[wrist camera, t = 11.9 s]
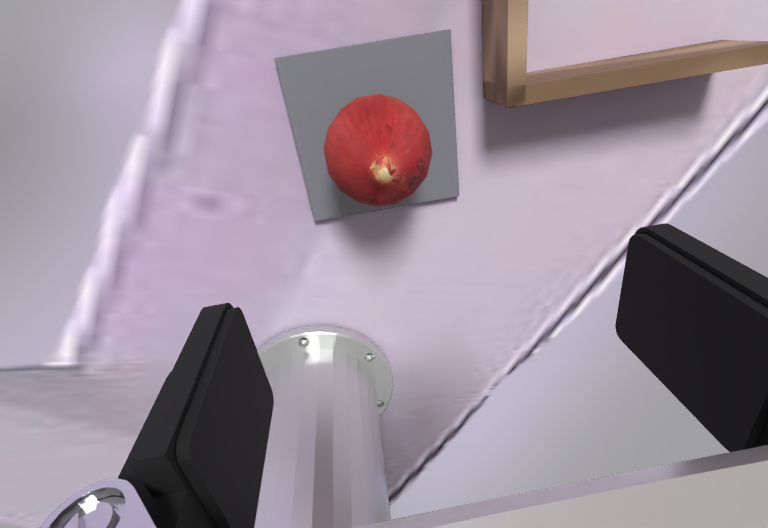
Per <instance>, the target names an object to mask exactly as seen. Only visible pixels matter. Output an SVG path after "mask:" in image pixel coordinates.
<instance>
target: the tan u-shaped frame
mask: <svg viewBox="0 0 768 528" xmlns="http://www.w3.org/2000/svg"><path fill="white" fill-rule="evenodd" d="M527 27H528V0H482V29H483V81H484V98H486V99H488V100H491V101H493V102H495V103H497V104H500V105H502V106H504V107H506V108H509V107H515V106H521V105H527V104H533V103H539V102H545V101H551V100H556V99H562V98H568V97H574V96H580V95H586V94H592V93H598V92H603V91H609V90H615V89H621V88H627V87H633V86H639V85H645V84H650V83H656V82H662V81H668V80H674V79H680V78H686V77H692V76H697V75H703V74H709V73H715V72H721V71H727V70H733V69H738V68H744V67H750V66H756V65H762V64H768V41H732V40H719V41H713V42H707V43H701V44H695V45H689V46H683V47H677V48H671V49H666V50H660V51H654V52H648V53H642V54H636V55H630V56H624V57H618V58H612V59H606V60H600V61H594V62H588V63H582V64H577V65H571V66H565V67H559V68H553V69H547V70H541V71H535V72H529V73H526V62H527Z"/></svg>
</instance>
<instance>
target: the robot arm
mask: <svg viewBox="0 0 768 528" xmlns="http://www.w3.org/2000/svg"><path fill="white" fill-rule="evenodd" d="M616 332H617V335H618V336H619V338H620V339H621V340H622V342H623V343H624V344H625V345H627V347H628V348H629V349H630V350H631V351H632V352H633V353H634V354H635V355H636V356H637V357H638V358H639V359H640V360H641V361H642V362H643V363H644V364H645V365H646V367H648V368H649V370H650V371H651V372H652V373H653V374H654V375H655V376H656V377H657V378H658V379H659V380H660V381H661V382H662V383H663V384H664V385H665V386H666V387H667V388H668V389H669V390H670V391H671V392H672V394H673V395H675V397H676V398H677V399H678V400H679V401H680V402H681V403H682V404H683V405H684V406H685V407H686V408H687V409H688V410H689V411H690V412H691V413H692V414H693V415H694V416H695V417H696V418H697V419H698V420H699V422H701V424H702V425H703V426H704V427H705V428H706V429H707V430H708V431H709V432H710V433H711V434H712V435H713V436H714V437H715V438H716V439H717V440H718V441H719V442H720V443H721V444H722V445H723V446H724V447H725V448H726V449H727V450H728V451H730V452H729V453H724V454H720V455H714V456H709V457H703V458H698V459H693V460H688V461H683V462H678V463H672V464H667V465H662V466H657V467H652V468H647V469H642V470H637V471H632V472H627V473H622V474H617V475H611V476H606V477H602V478H597V479H591V480H587V481H581V482H576V483H571V484H566V485H561V486H556V487H551V488H546V489H541V490H536V491H532V492H526V493H521V494H516V495H511V496H507V497H501V498H496V499H491V500H486V501H481V502H476V503H472V504H467V505H462V506H457V507H452V508H447V509H442V510H437V511H432V512H428V513H423V514H418V515H414V516H408V517H403V518H398V519H393V520H391V516H390V507H389V499H388V490H387V482H386V473H385V465H384V457H383V448H382V440H381V431H380V423H379V416H380V415H381V413H382V412H383V411H384V410H385V408H386V407H387V405H388V403H389V401H390V399H391V395H392V390H393V377H392V372H391V368H390V364H389V362H388V360H387V358H386V356H385V355H384V353H383V352H382V351H381V350H380V348H379V347H378V346H377V345H375V344H374V343H373V342H372V341H371V340H369V339H368V338H366V337H364V336H362V335H360V334H358V333H356V332H353V331H350V330H347V329H344V328H339V327H333V326H308V327H300V328H296V329H293V330H289V331H286V332H283V333H281V334H279V335H277V336H275V337H273V338H271V339H270V340H268V341H267V342H266V343H264V344H263V345H262V346H260V347H259V349H258V350H257V349H256V347H255V344H254V341H253V339H252V336H251V333H250V331H249V328H248V326H247V323H246V320H245V318H244V315H243V313H242V310H241V309H240V308H239V307H237V308H233V306H232V305H231V304H230V303H225V304H219V305H214V306H208V307H204V308H203V309H202V310H201V312H200V314H199V316H198V318H197V320H196V322H195V324H194V326H193V328H192V331H191V333H190V335H189V337H188V339H187V341H186V343H185V345H184V347H183V349H182V351H181V353H180V355H179V358H178V360H177V362H176V364H175V366H174V368H173V370H172V372H170V374H169V375H168V377H167V378H166V380H165V382H164V384H163V387H162V389H161V391H160V393H159V395H158V397H157V399H156V401H155V403H154V405H153V407H152V409H151V411H150V413H149V415H148V417H147V419H146V421H145V423H144V425H143V428H142V430H141V432H140V434H139V436H138V438H137V440H136V442H135V444H134V446H133V448H132V450H131V452H130V454H129V456H128V458H127V460H126V462H125V464H124V467H123V469H122V471H121V473H120V475H119V477H118V478H114V479H106V480H102V481H99V482H96V483H94V484H91V485H89V486H87V487H85V488H83V489H82V490H80V491H78V492H76V493H75V494H73V495H72V496H71V497H69V498H68V499H67V500H66V501H64V502H63V503H62V504H61V505H59V506H58V507H57V508H56V509H55V510H54V511H53V512H52V514H51V515H50V516H49V517H48V518H47V519H46V520H45V521H44V523H43V524H42V526H41V527H40V528H768V278H767V277H765V276H763V275H762V274H760V273H758V272H756V271H754V270H752V269H751V268H749V267H747V266H745V265H743V264H741V263H740V262H738V261H736V260H734V259H732V258H730V257H728V256H726V255H725V254H723V253H721V252H719V251H717V250H716V249H714V248H712V247H710V246H708V245H707V244H705V243H703V242H701V241H699V240H697V239H696V238H694V237H692V236H690V235H688V234H686V233H684V232H682V231H681V230H679V229H677V228H675V227H673V226H672V225H669V224H659V225H654V226H648V227H643V228H640V229H638V230H637V232H636V233H635V235H633V236H632V237H631V238H630V240H629V245H628V251H627V257H626V263H625V269H624V276H623V282H622V288H621V294H620V300H619V307H618V313H617V319H616Z"/></svg>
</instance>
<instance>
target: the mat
mask: <svg viewBox="0 0 768 528" xmlns="http://www.w3.org/2000/svg"><path fill="white" fill-rule="evenodd" d="M275 62H276V66H277V70H278V74H279V78H280V82H281V86H282V91H283V95H284V99H285V103H286V107H287V111H288V115H289V119H290V123H291V127H292V131H293V135H294V139H295V143H296V147H297V151H298V155H299V159H300V163H301V167H302V171H303V175H304V180H305V184H306V188H307V192H308V196H309V200H310V204H311V208H312V212H313V216H314V220H315V221H319V220H324V219H330V218H336V217H342V216H347V215H353V214H359V213H364V212H370V211H376V210H382V209H387V208H393V207H399V206H404V205H410V204H416V203H422V202H427V201H433V200H439V199H445V198H450V197H456V196H459V182H458V163H457V144H456V125H455V106H454V88H453V69H452V50H451V31H450V30H443V31H437V32H431V33H425V34H419V35H413V36H407V37H401V38H395V39H389V40H383V41H377V42H371V43H365V44H359V45H352V46H346V47H340V48H334V49H328V50H322V51H316V52H310V53H304V54H298V55H292V56H286V57H280V58H275ZM375 94H382V95H386V96H390V97H394V98H398V99H400V100H402V101H403V102H404V103H406V104H407V105H408V106H410V107H411V108H413V109H414V110H415V111H416V112H417V113H418V114H419V116H420V118H421V119H422V121H423V123H424V124H425V126H426V128H427V129H428V131H429V135H430V141H431V147H432V153H433V154H432V158H431V162H430V166H429V170H428V174H427V177H426V178H425V179H424V181H423V182H422V183H421V184H420V186H419V187H418V188H417V189H416V191H415V192H414V193H413V194H412V195H411V196H409V197H407V198H406V199H404V200H402V201H400V202H399V203H397V204H395V205H388V206H379V207H375V206H370V205H366V204H362V203H358V202H356V201H355V200H353V199H352V198H350V197H349V196H347V195H346V194H344V193H343V192H341V191H340V189H339V188H338V187H337V185H336V184H335V182H334V181H333V180H332V178H331V177H330V175H329V174H328V170H327V165H326V160H325V155H324V150H323V149H324V144H325V139H326V135H327V130H328V128H329V126H330V125H331V123H332V122H333V120H334V119H335V117H336V115H337V114H338V112H339V111H340V109H341V108H343V107H344V106H346V105H347V104H349V103H350V102H352V101H353V100H354V99H356V98H357V97H363V96H369V95H375Z"/></svg>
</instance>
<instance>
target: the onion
mask: <svg viewBox="0 0 768 528" xmlns="http://www.w3.org/2000/svg"><path fill="white" fill-rule="evenodd" d="M323 150H324V155H325V160H326V165H327V170H328V174H329V175H330V177H331V178H332V180H333V181H334V182H335V184H336V185H337V187H338V188H339V189H340V191H341V192H343V193H344V194H346V195H347V196H349V197H350V198H352V199H353V200H355V201H356V202H358V203H362V204H366V205H370V206H375V207H379V206H388V205H395V204H397V203H399V202H400V201H402V200H404V199H406V198H407V197H409V196H411V195H412V194H413V193H414V192H415V191H416V189H417V188H418V187H419V186H420V184H421V183H422V182H423V181H424V179H425V178H426V177H427V174H428V170H429V166H430V162H431V158H432V154H433V153H432V147H431V141H430V135H429V131H428V129H427V128H426V126H425V124H424V123H423V121H422V119H421V118H420V116H419V114H418V113H417V112H416V111H415V110H414V109H413V108H411V107H410V106H408V105H407V104H406V103H404V102H403V101H402V100H400V99H398V98H394V97H390V96H386V95H382V94H375V95H369V96H363V97H357V98H356V99H354V100H353V101H352V102H350V103H349V104H347V105H346V106H344V107H343V108H341V109H340V111H339V112H338V114H337V115H336V117H335V119H334V120H333V122H332V123H331V125H330V126H329V128H328V130H327V135H326V139H325V144H324V149H323Z"/></svg>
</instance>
